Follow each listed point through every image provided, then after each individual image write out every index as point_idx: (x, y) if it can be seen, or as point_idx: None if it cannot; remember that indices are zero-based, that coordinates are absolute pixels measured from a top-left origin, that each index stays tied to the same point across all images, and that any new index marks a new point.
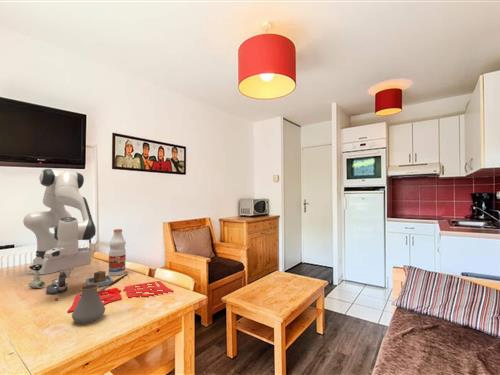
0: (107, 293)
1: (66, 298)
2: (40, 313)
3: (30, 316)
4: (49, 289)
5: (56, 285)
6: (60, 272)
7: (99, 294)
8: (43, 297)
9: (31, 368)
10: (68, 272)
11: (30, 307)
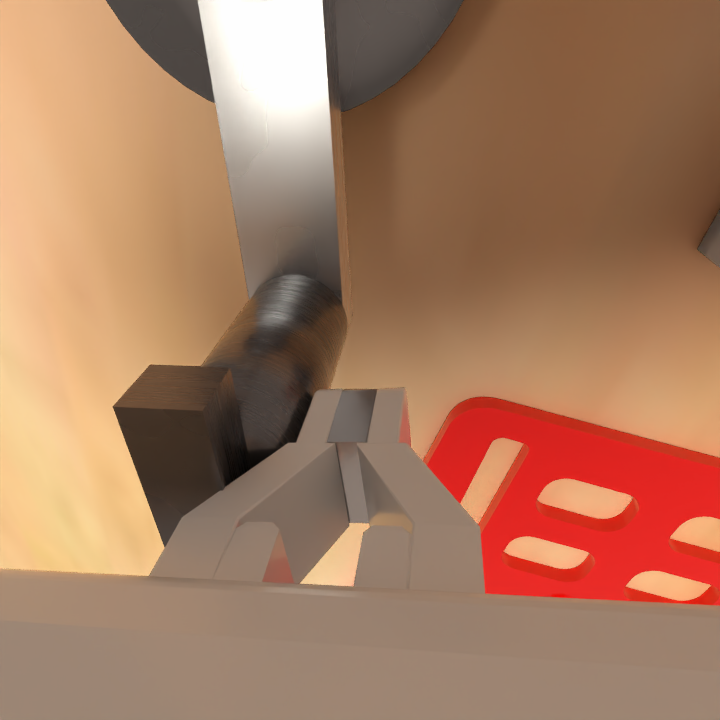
0: (709, 582)
1: (360, 384)
2: (150, 540)
3: (95, 539)
4: (137, 30)
5: (225, 107)
6: (141, 468)
7: (637, 559)
8: (117, 116)
9: None
10: (375, 497)
11: (47, 371)
